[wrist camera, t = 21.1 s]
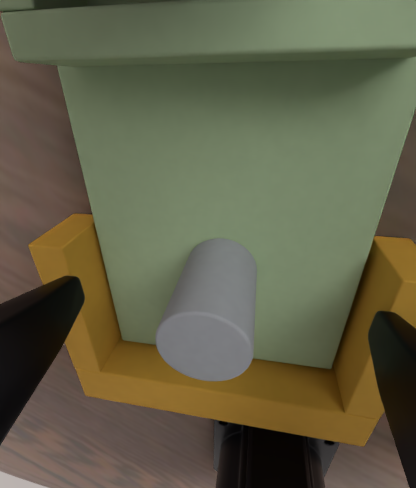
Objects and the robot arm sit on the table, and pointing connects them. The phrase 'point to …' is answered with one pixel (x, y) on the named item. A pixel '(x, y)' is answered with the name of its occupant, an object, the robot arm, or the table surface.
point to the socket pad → (231, 161)
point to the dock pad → (259, 371)
